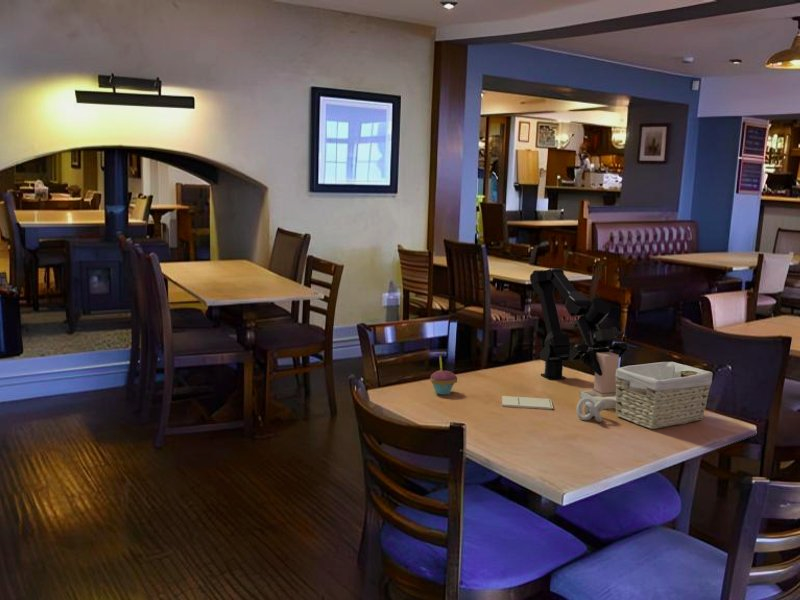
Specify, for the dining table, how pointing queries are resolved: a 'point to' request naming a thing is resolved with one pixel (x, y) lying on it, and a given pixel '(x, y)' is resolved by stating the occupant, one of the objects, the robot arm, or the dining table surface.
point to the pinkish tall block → (606, 374)
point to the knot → (589, 406)
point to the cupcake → (443, 380)
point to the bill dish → (599, 399)
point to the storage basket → (661, 393)
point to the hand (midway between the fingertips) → (608, 374)
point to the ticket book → (526, 402)
